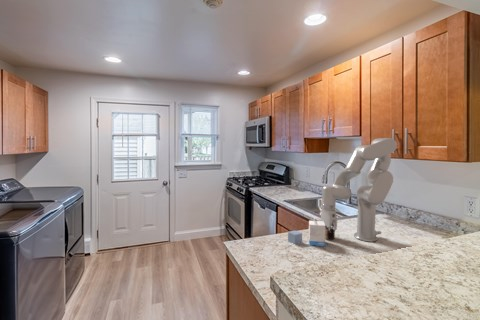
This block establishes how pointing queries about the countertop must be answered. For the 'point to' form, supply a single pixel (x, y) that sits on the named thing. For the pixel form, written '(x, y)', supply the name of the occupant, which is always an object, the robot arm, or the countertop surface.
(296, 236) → the slate cube
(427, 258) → the countertop surface
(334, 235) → the walnut cube
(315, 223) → the ink box
